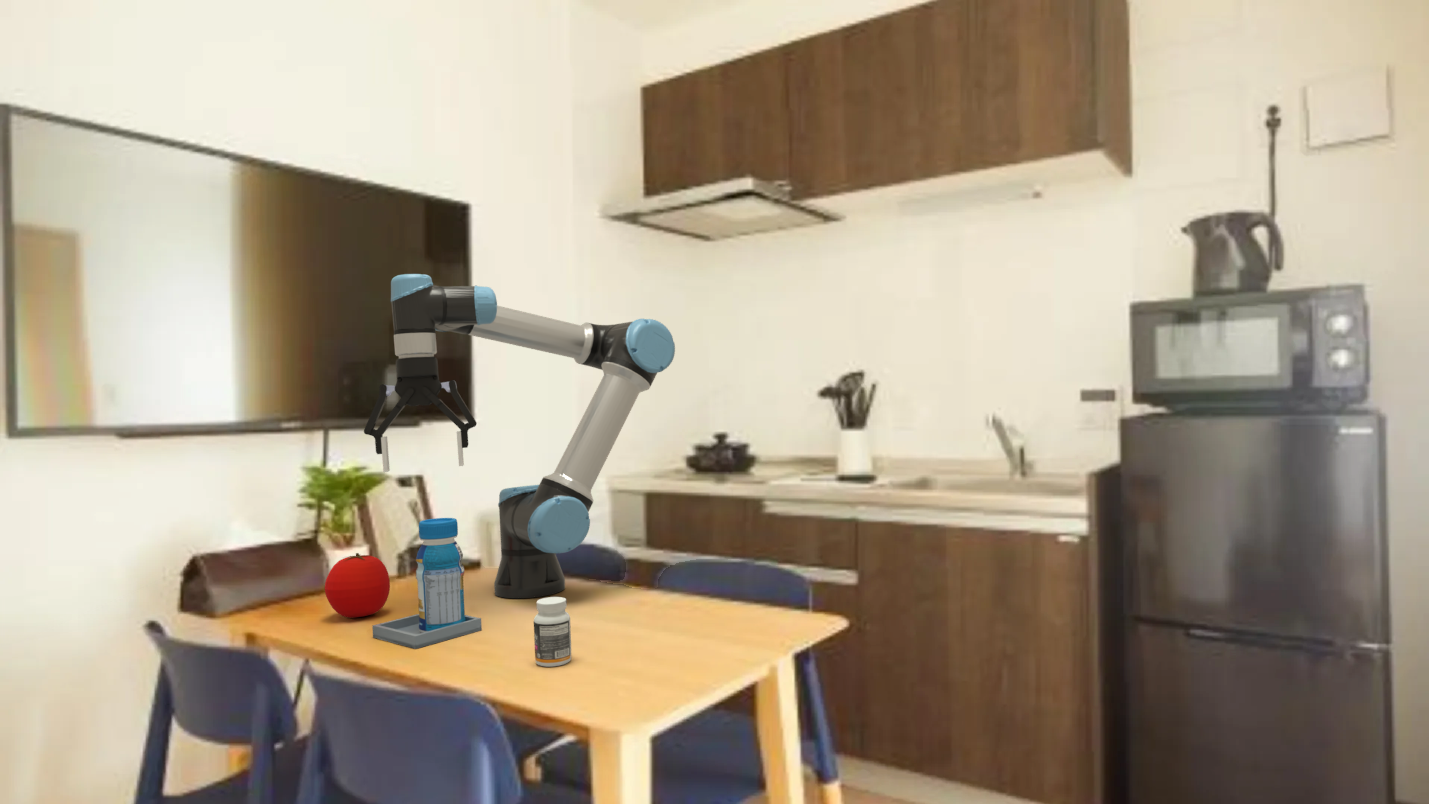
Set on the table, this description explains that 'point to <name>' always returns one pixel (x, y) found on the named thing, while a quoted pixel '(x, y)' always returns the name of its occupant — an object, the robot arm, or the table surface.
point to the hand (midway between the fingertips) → (424, 468)
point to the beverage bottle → (439, 575)
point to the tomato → (357, 586)
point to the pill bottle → (552, 632)
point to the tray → (410, 635)
